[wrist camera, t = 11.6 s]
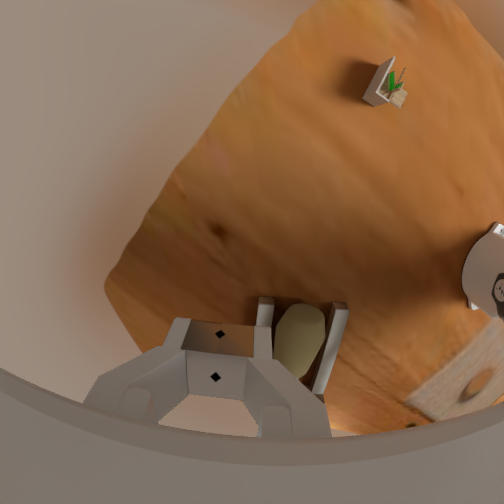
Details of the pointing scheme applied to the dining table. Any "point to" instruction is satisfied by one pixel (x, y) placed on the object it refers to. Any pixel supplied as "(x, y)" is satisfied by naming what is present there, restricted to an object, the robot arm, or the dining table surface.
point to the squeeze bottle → (299, 338)
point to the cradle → (327, 348)
